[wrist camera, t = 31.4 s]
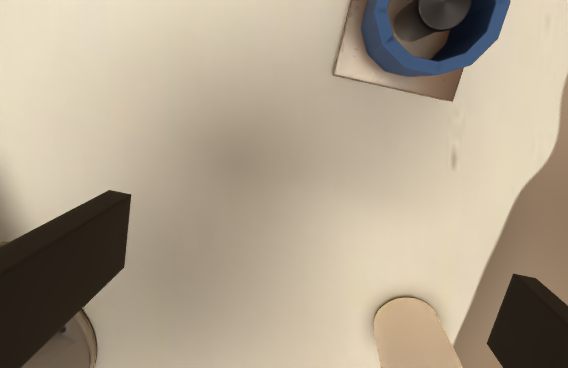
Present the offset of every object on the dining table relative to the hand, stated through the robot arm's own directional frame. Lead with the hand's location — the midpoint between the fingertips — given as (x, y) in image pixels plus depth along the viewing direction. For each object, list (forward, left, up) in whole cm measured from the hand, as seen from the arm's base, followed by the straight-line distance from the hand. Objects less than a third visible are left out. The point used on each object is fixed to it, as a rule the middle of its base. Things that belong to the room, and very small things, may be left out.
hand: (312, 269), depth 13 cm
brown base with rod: (+5, +12, -24) cm, 27 cm away
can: (+13, -15, -24) cm, 31 cm away
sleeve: (+5, +12, -22) cm, 25 cm away
